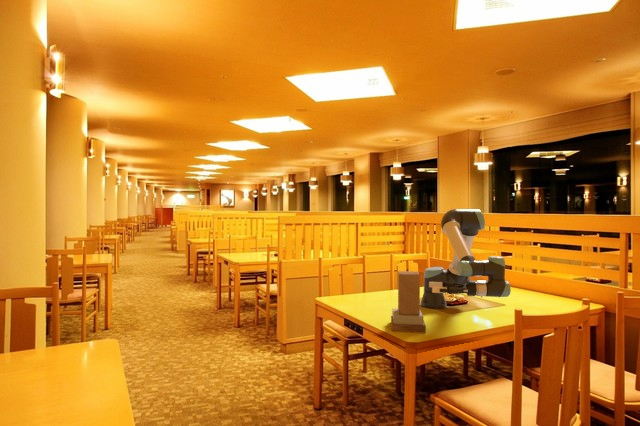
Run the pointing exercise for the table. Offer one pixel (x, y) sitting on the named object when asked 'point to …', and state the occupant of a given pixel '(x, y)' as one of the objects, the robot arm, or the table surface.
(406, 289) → the wooden block
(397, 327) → the walnut slab
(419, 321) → the grey slab
